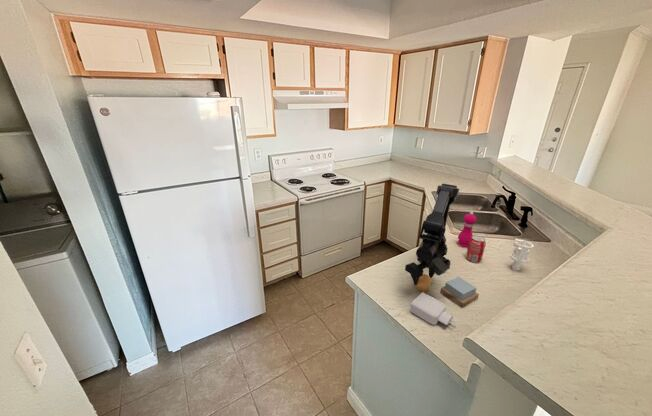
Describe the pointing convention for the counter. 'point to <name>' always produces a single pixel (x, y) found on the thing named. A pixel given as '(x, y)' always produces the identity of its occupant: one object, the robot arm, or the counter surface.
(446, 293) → the tower base
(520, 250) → the white tall piece
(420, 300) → the charger
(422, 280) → the orange cylinder
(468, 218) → the pepper mill
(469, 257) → the soda can
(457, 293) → the block
